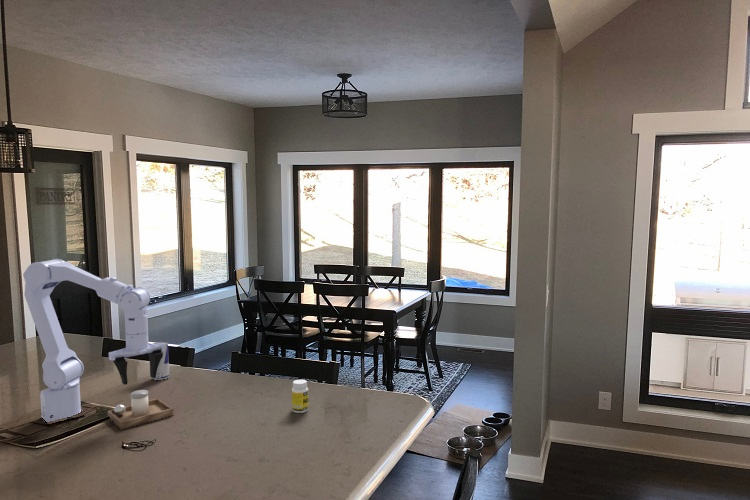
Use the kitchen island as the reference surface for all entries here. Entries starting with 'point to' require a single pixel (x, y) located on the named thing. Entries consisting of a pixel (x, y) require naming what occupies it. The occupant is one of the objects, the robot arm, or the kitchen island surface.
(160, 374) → the energy drink
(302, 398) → the supplement bottle
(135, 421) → the tray
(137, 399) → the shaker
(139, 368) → the kitchen island surface
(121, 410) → the steel ball
